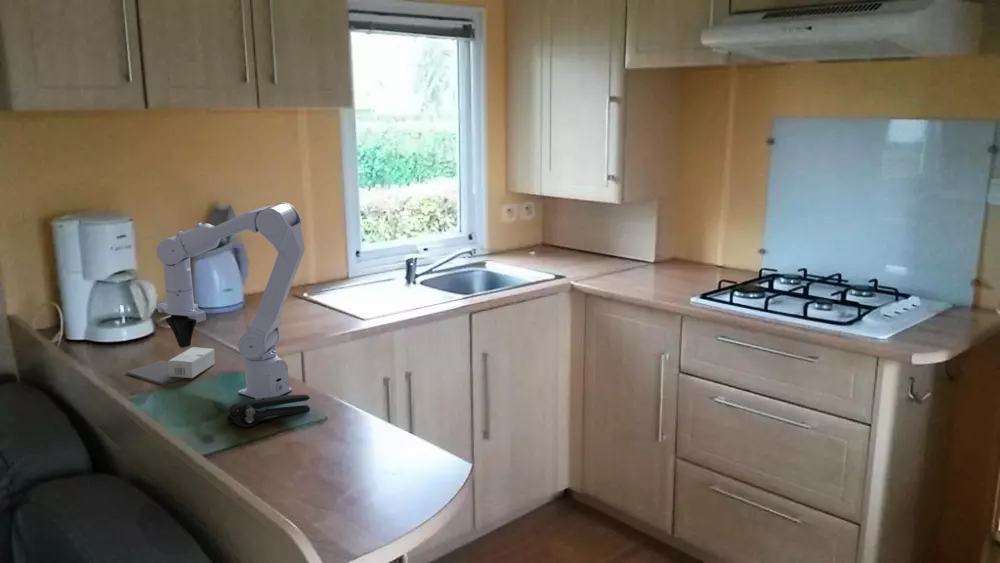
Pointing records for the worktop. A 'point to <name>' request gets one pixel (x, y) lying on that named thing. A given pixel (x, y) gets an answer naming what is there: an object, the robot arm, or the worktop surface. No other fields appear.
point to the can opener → (249, 416)
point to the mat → (154, 373)
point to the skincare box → (191, 362)
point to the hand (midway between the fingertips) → (184, 346)
